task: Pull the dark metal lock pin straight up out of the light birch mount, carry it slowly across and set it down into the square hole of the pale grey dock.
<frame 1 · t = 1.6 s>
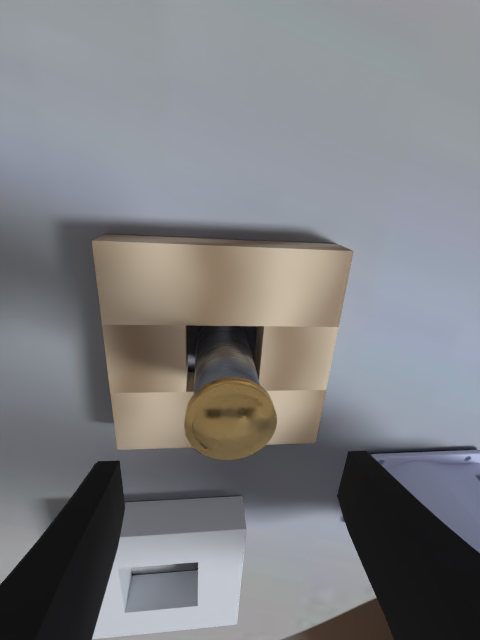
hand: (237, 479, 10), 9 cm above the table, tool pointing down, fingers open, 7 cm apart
dock: (164, 552, 25), on the table
lock pin: (225, 375, 15), in the pin mount
pin mount: (221, 342, 19), on the table
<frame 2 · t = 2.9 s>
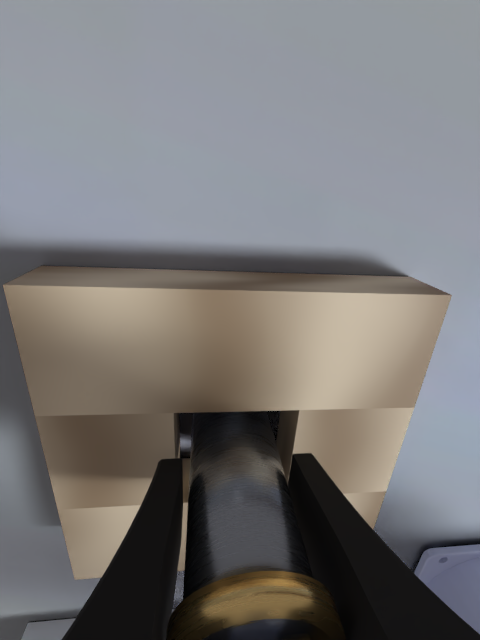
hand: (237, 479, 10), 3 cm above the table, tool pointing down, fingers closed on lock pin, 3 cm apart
lock pin: (239, 498, 9), in the pin mount, touching gripper
pin mount: (230, 419, 13), on the table
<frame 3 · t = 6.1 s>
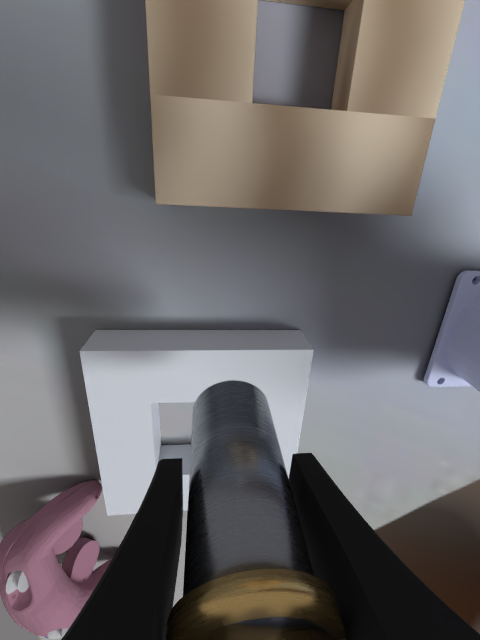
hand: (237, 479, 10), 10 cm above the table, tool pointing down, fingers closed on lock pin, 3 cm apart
dock: (201, 412, 21), on the table
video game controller: (88, 522, 24), on the table
lock pin: (239, 492, 9), point 10 cm above the table, touching gripper
pin mount: (293, 63, 14), on the table
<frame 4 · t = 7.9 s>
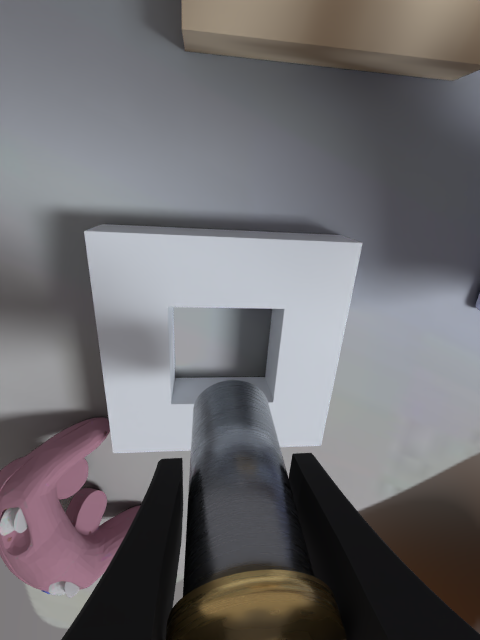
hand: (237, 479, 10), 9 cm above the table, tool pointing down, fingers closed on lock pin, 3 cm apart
dock: (222, 336, 18), on the table
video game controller: (95, 470, 22), on the table
lock pin: (239, 492, 9), point 10 cm above the table, touching gripper
when the fingers open (4 cm above the table, at t = 9.4 s): lock pin stays where it is, resting in dock.
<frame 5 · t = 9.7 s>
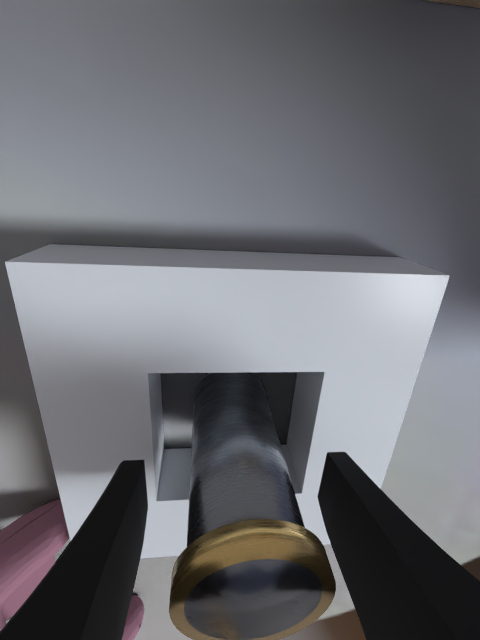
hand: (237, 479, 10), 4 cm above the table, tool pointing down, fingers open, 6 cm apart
dock: (229, 396, 13), on the table
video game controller: (66, 557, 16), on the table
lock pin: (238, 468, 10), in the dock
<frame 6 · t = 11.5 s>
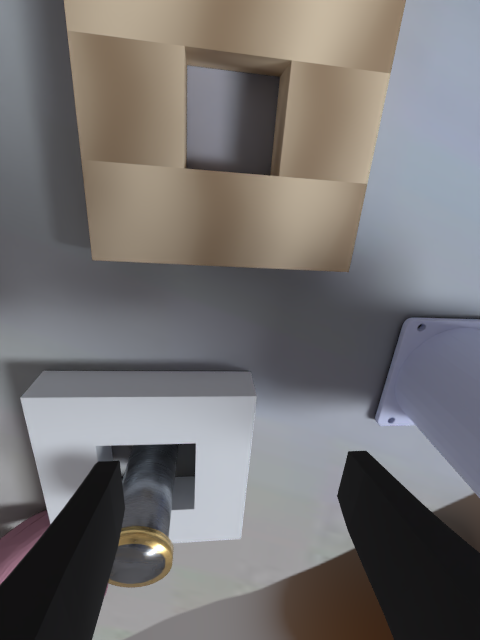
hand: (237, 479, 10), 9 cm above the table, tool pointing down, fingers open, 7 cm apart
dock: (154, 447, 21), on the table
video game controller: (54, 547, 24), on the table
lock pin: (146, 496, 18), in the dock
pin mount: (231, 125, 14), on the table
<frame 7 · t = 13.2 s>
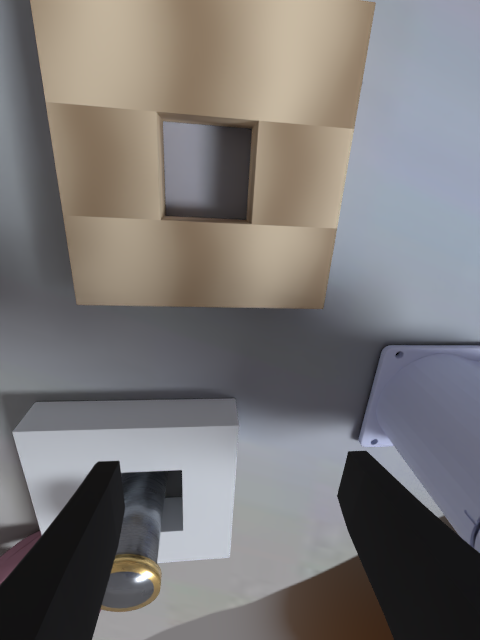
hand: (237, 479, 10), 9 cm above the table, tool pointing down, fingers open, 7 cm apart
dock: (144, 471, 22), on the table
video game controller: (51, 564, 25), on the table
lock pin: (136, 521, 19), in the dock
pin mount: (207, 173, 15), on the table
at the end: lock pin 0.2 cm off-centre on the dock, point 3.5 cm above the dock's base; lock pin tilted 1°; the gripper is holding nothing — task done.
